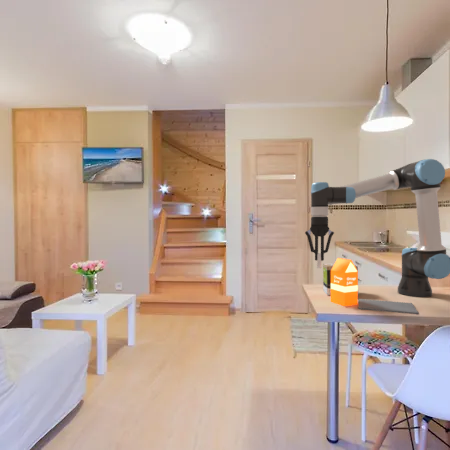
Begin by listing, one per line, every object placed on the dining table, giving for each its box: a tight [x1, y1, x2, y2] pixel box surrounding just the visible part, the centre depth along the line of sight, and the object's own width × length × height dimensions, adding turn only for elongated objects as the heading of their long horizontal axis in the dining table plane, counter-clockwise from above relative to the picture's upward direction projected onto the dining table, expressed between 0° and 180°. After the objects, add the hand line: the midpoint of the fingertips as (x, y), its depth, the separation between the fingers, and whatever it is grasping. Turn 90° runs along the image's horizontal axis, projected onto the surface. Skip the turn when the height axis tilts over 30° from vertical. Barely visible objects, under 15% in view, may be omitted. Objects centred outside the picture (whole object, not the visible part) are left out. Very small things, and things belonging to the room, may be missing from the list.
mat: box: [358, 298, 419, 315], centre depth 145 cm, size 22×16×1 cm
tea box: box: [322, 263, 359, 296], centre depth 170 cm, size 15×10×15 cm
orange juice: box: [330, 257, 359, 307], centre depth 151 cm, size 8×9×20 cm
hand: (319, 267), depth 155 cm, fingers closed
